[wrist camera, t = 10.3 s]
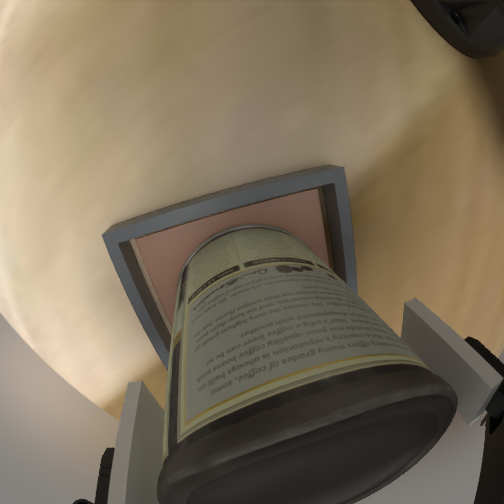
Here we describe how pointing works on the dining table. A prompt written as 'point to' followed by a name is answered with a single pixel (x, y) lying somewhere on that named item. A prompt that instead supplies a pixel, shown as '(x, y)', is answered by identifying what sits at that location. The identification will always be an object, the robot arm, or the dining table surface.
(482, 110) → the dining table surface
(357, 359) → the coffee can
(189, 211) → the organiser
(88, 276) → the dining table surface
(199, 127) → the dining table surface
